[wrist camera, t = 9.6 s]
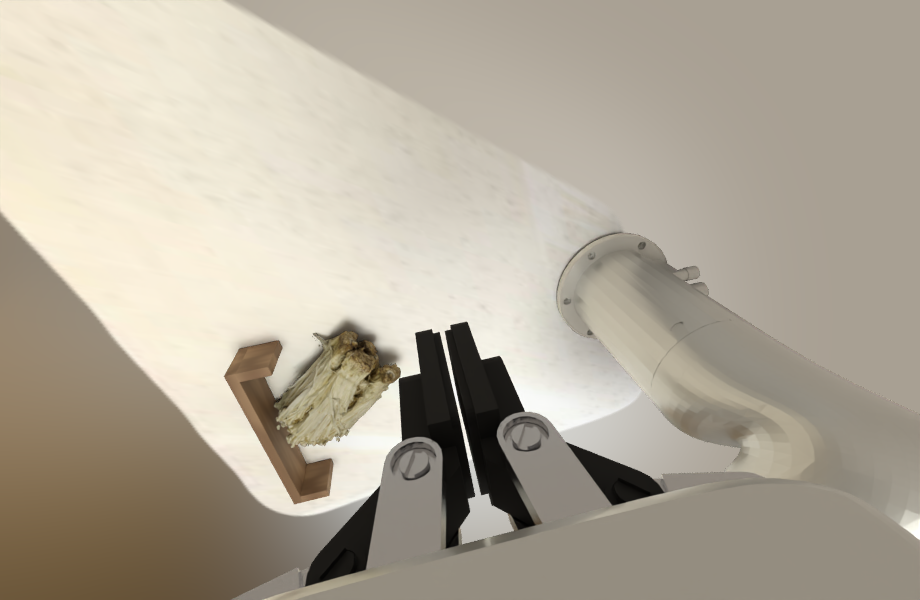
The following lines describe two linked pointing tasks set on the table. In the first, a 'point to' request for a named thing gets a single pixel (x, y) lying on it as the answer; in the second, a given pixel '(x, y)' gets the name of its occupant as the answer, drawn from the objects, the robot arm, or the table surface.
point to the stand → (274, 423)
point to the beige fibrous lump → (334, 391)
